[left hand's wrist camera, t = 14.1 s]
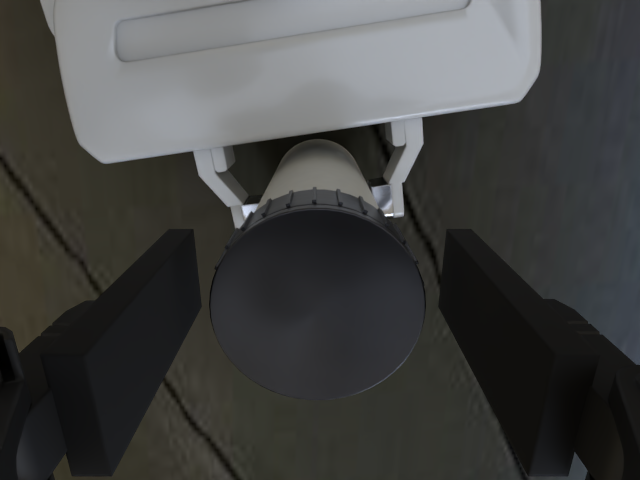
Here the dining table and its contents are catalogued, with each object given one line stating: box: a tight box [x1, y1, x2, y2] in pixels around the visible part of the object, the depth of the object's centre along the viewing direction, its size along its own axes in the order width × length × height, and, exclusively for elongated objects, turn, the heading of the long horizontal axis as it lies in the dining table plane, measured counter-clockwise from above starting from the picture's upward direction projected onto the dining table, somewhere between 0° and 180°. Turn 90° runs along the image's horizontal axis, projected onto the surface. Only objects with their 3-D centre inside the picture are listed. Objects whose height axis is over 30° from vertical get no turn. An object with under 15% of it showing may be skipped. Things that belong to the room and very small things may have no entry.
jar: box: [255, 139, 379, 211], centre depth 20 cm, size 5×5×16 cm
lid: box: [209, 187, 426, 400], centre depth 13 cm, size 6×6×2 cm
